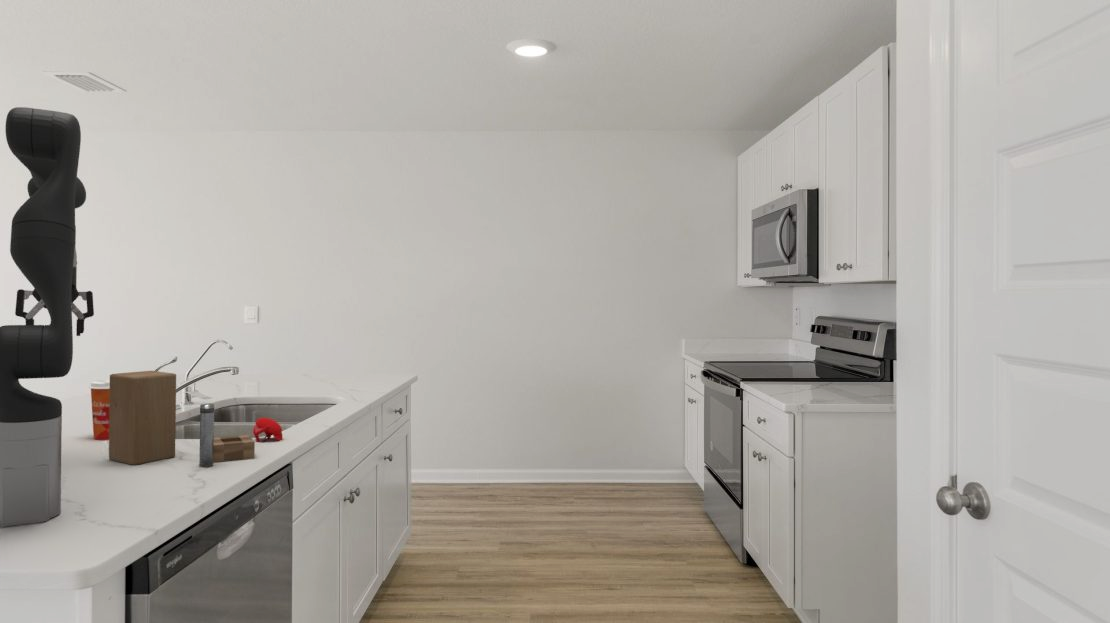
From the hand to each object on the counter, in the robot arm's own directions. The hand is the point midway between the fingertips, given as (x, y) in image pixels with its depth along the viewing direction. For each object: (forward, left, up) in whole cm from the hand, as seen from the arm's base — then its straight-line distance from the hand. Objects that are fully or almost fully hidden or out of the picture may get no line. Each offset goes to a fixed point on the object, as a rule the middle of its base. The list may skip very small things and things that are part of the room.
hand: (55, 335), depth 152 cm
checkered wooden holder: (-13, -35, -29) cm, 47 cm away
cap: (+2, -46, -29) cm, 54 cm away
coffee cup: (+23, -10, -29) cm, 38 cm away
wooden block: (-6, -17, -29) cm, 34 cm away
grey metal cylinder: (-20, -29, -29) cm, 45 cm away
